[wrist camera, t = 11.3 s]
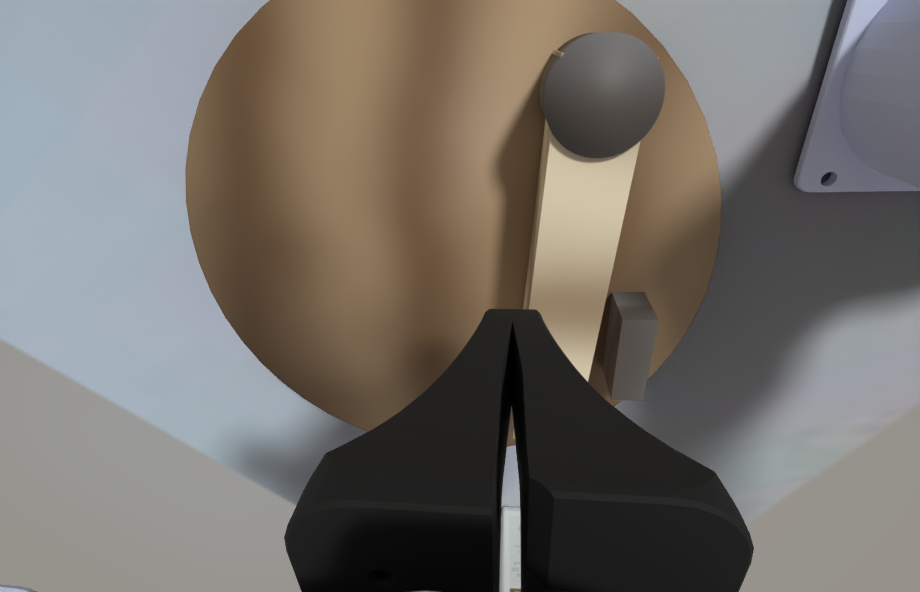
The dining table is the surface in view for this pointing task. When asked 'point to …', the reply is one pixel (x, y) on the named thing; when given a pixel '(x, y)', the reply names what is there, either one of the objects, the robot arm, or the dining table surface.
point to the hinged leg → (587, 179)
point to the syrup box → (510, 550)
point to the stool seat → (423, 194)
